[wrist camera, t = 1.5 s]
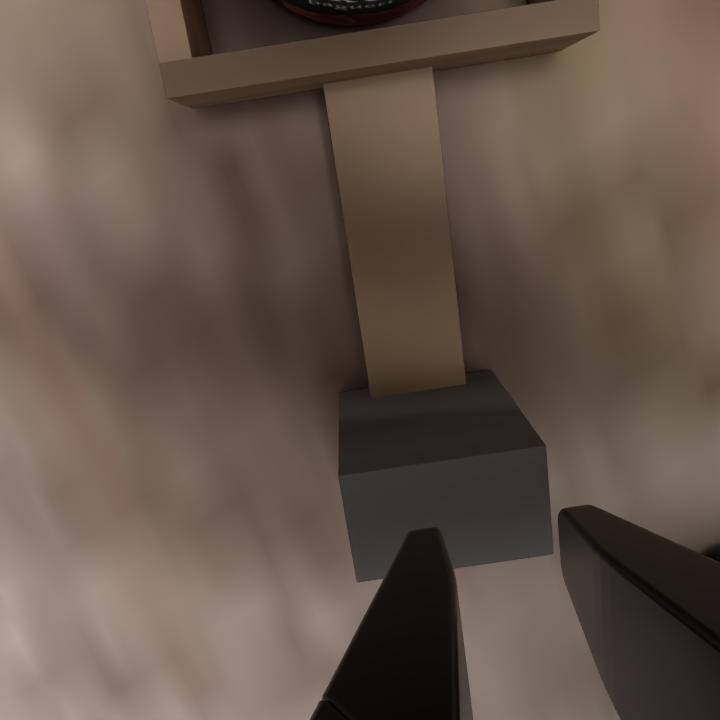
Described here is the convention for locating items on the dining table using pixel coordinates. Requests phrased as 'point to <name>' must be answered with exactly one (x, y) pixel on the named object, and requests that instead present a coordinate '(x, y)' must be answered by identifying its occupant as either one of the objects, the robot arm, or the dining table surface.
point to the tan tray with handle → (402, 272)
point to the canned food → (351, 10)
